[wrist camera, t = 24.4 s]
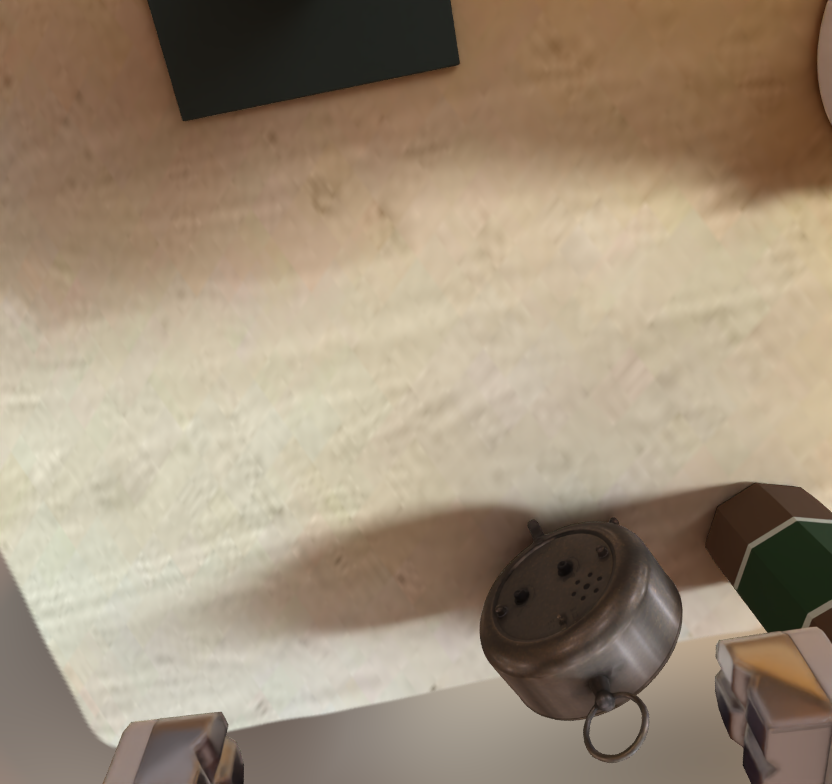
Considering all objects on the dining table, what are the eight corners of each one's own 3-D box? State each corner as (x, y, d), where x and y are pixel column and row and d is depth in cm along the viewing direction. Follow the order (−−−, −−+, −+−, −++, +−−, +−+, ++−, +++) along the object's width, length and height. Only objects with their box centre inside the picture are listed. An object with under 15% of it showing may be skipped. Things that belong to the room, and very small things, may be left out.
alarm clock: (499, 612, 48) (556, 843, 33) (454, 559, 46) (491, 778, 31) (639, 527, 46) (767, 731, 31) (596, 468, 44) (711, 655, 29)
